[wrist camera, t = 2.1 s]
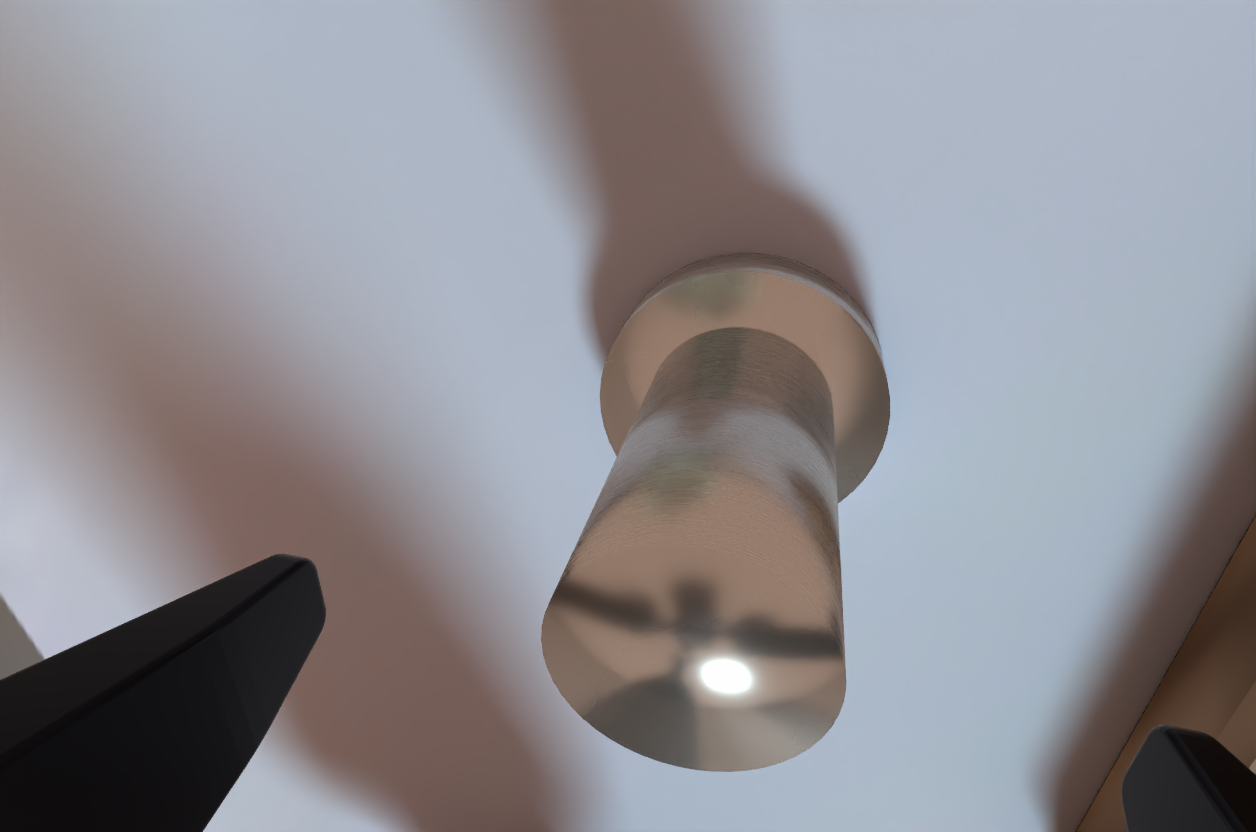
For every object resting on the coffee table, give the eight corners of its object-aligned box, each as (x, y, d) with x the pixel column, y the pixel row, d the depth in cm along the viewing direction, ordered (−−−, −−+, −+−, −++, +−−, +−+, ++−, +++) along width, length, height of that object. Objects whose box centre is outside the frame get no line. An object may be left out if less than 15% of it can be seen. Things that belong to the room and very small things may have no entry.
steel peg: (856, 511, 14) (886, 865, 8) (613, 473, 15) (480, 766, 9) (911, 267, 12) (1013, 514, 6) (619, 240, 13) (441, 429, 7)
